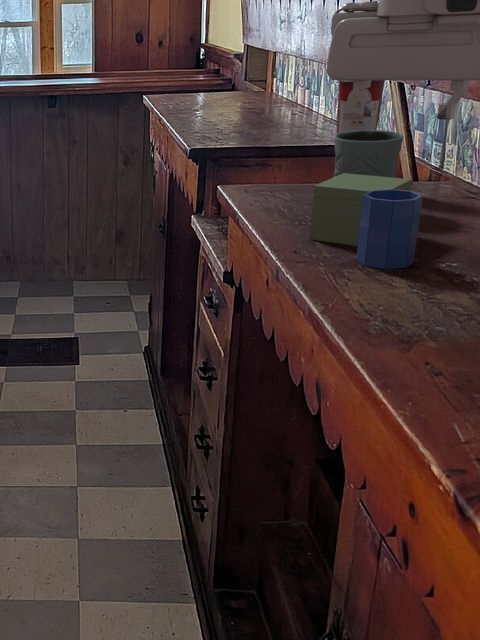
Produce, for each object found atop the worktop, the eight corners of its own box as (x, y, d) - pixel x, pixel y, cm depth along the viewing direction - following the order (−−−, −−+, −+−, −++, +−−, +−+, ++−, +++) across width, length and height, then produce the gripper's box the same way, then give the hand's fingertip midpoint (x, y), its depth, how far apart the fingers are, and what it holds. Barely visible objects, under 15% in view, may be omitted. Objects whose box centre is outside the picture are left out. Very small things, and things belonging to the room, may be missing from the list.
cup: (419, 259, 116) (428, 192, 112) (400, 271, 111) (409, 202, 108) (369, 251, 120) (377, 187, 117) (350, 263, 116) (357, 197, 112)
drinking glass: (386, 201, 145) (395, 128, 141) (401, 216, 136) (411, 139, 132) (323, 202, 147) (329, 130, 143) (333, 217, 138) (341, 141, 133)
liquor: (373, 185, 157) (392, 20, 146) (371, 194, 151) (390, 22, 140) (330, 183, 160) (346, 22, 149) (327, 192, 154) (342, 24, 143)
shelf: (404, 233, 127) (411, 179, 124) (378, 249, 121) (384, 192, 118) (338, 224, 134) (343, 173, 131) (309, 239, 127) (314, 185, 124)
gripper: (322, 5, 108) (314, 118, 113) (503, -6, 94) (485, 124, 99) (343, 2, 112) (335, 112, 117) (520, -9, 98) (502, 116, 104)
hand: (405, 117), depth 108 cm, fingers open, 8 cm apart
